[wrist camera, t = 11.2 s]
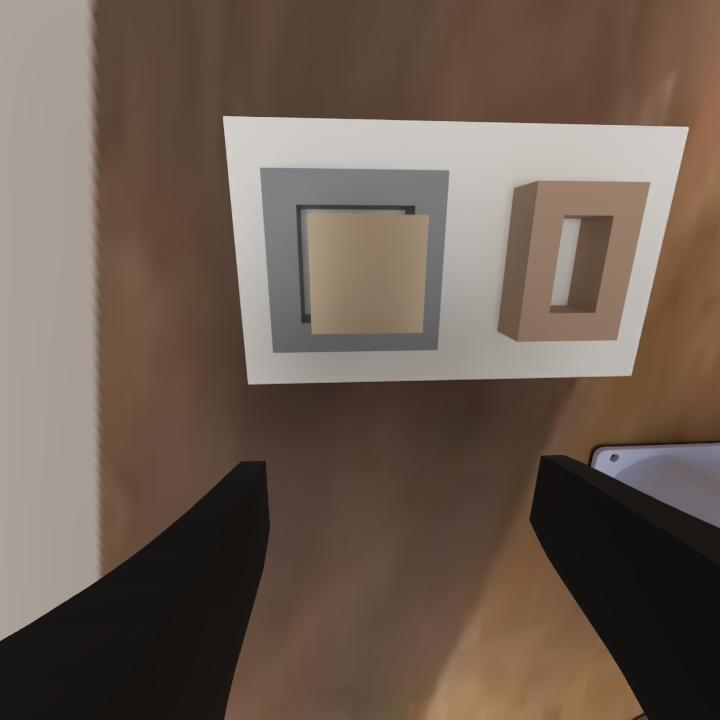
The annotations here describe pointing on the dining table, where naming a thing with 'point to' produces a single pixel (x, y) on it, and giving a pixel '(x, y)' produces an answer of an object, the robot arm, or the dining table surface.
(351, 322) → the beech peg
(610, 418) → the dining table surface
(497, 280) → the socket board
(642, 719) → the energy drink
